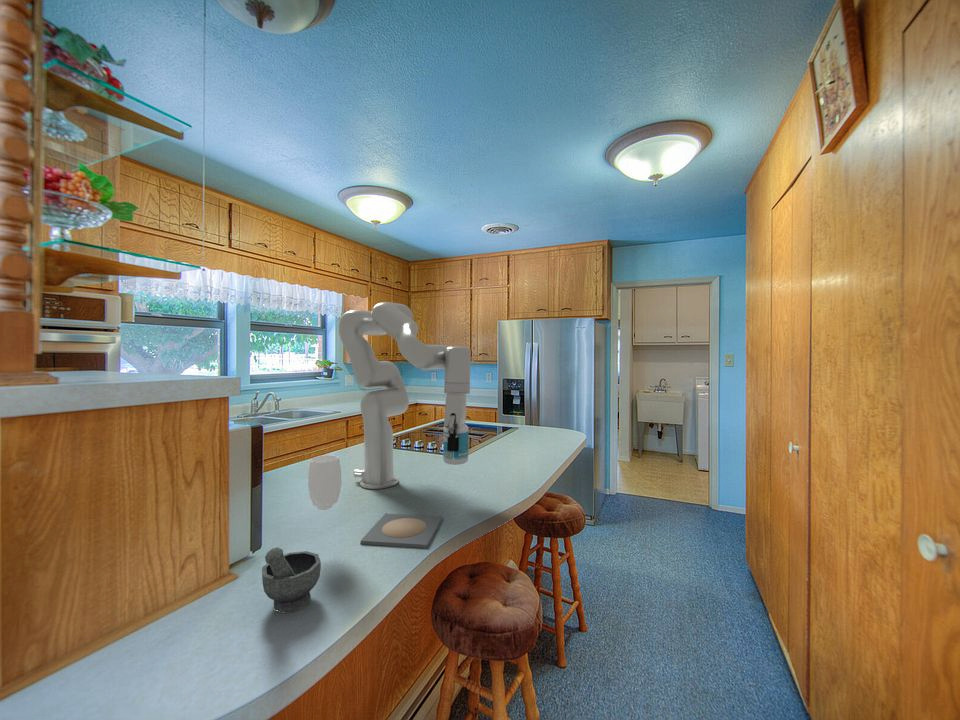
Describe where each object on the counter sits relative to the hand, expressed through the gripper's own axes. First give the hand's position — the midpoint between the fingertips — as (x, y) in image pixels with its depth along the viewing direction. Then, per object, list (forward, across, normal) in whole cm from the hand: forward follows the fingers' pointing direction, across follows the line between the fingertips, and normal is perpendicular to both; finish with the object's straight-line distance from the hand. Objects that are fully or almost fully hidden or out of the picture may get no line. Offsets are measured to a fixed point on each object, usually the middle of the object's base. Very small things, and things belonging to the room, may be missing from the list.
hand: (455, 447), depth 120 cm
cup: (+17, +32, -24) cm, 43 cm away
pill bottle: (+5, 0, 0) cm, 5 cm away
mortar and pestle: (+17, +52, -20) cm, 58 cm away
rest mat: (+16, +21, -9) cm, 28 cm away
